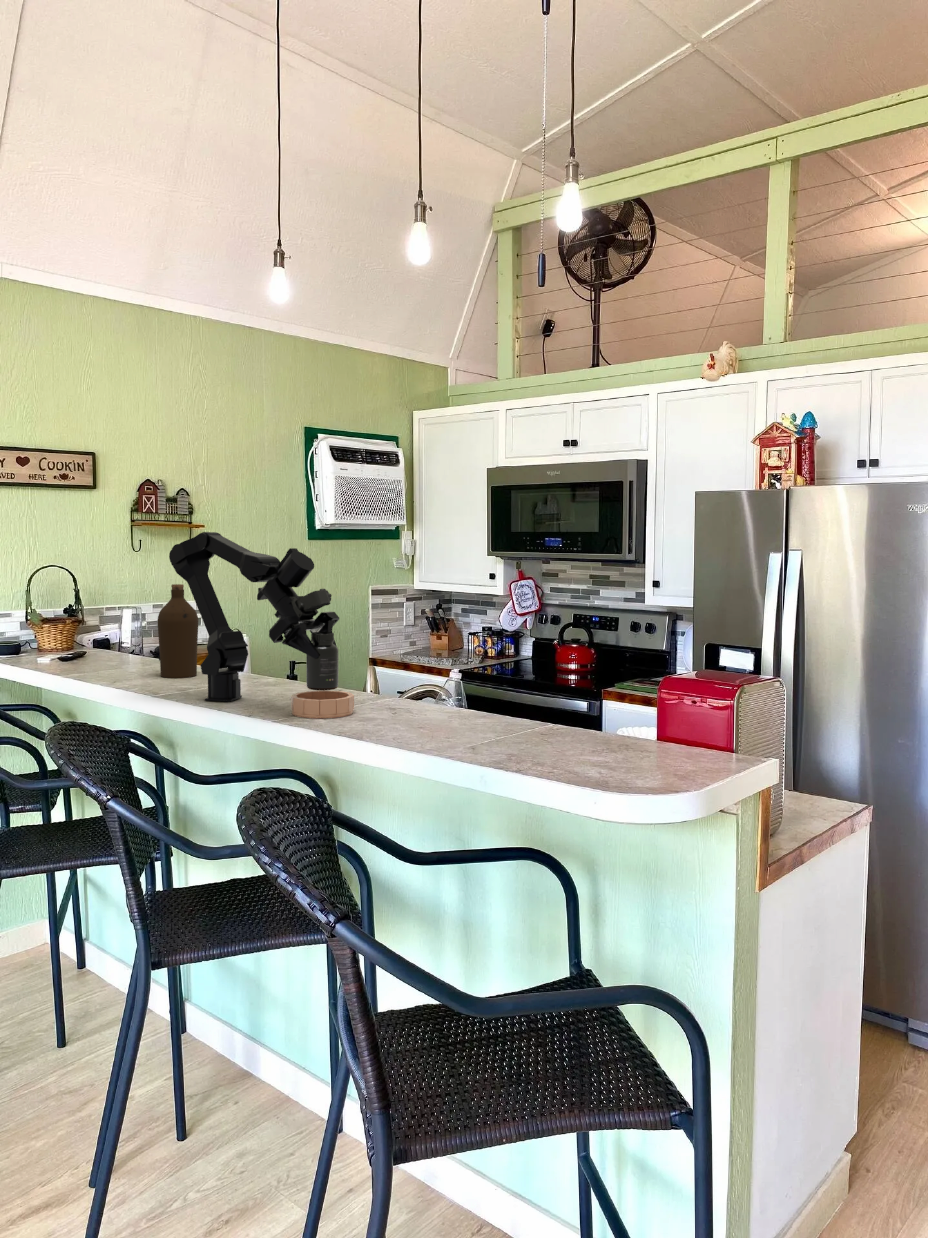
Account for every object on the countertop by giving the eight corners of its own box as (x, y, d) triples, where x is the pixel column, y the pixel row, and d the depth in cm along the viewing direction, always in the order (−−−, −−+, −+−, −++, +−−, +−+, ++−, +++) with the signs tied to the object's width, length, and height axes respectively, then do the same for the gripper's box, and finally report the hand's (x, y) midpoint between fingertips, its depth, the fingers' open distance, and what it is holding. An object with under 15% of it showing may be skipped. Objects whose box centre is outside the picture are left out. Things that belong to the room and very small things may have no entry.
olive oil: (207, 674, 249) (205, 584, 247) (182, 679, 239) (181, 585, 237) (175, 672, 253) (173, 583, 251) (149, 677, 243) (148, 584, 241)
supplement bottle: (300, 687, 194) (300, 632, 193) (328, 684, 199) (328, 630, 197) (316, 691, 189) (316, 635, 188) (344, 688, 193) (344, 633, 192)
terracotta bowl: (282, 716, 189) (282, 698, 189) (305, 706, 202) (305, 689, 201) (341, 719, 186) (341, 701, 186) (360, 709, 199) (360, 691, 199)
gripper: (280, 577, 185) (324, 634, 181) (332, 575, 202) (373, 627, 198) (250, 613, 189) (292, 670, 185) (303, 608, 206) (343, 660, 202)
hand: (327, 655), depth 192 cm, fingers closed on supplement bottle, 7 cm apart
